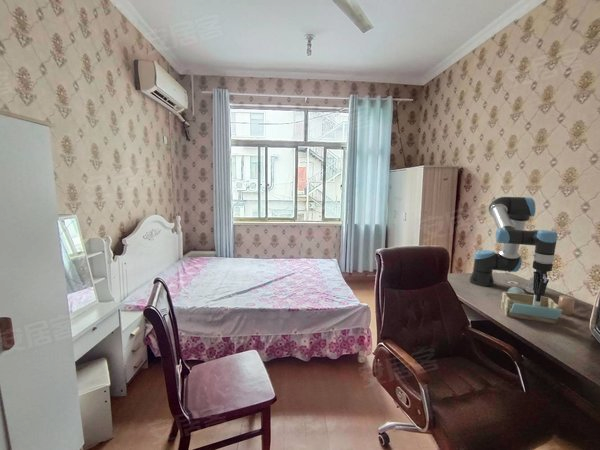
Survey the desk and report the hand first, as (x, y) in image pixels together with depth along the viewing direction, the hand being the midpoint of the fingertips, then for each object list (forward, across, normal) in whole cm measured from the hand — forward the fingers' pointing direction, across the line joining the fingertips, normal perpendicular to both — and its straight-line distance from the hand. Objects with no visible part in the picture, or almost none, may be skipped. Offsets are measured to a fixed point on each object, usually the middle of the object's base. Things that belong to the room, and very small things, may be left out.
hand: (536, 306), depth 149 cm
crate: (+9, -10, 0) cm, 14 cm away
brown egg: (+10, -22, +20) cm, 31 cm away
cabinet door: (+6, -3, 0) cm, 7 cm away
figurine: (+11, -55, +15) cm, 58 cm away
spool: (+10, -30, -1) cm, 31 cm away
